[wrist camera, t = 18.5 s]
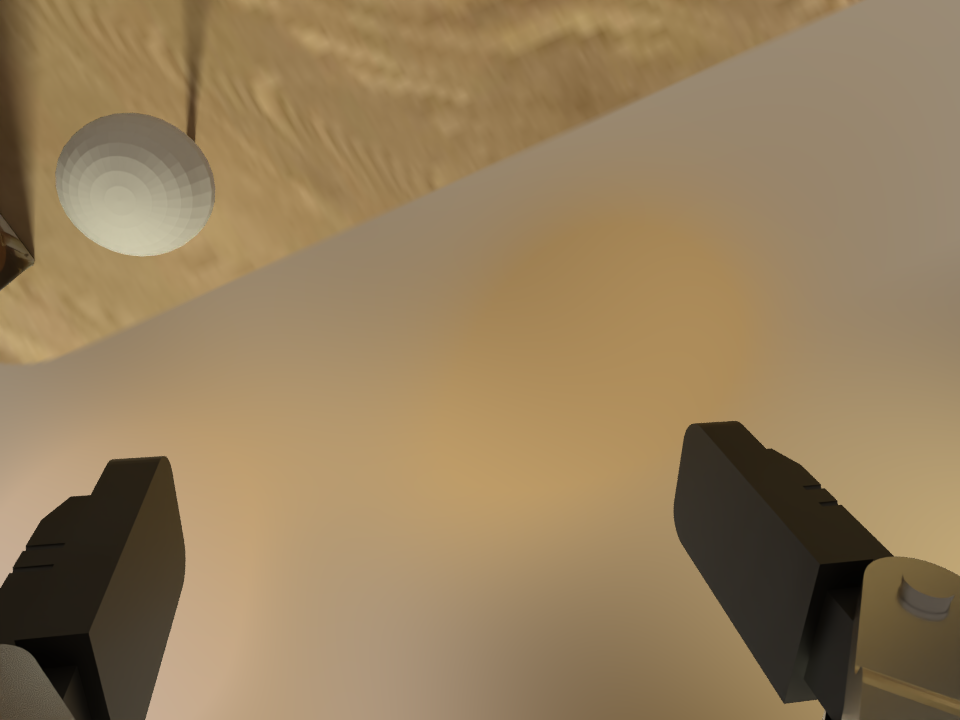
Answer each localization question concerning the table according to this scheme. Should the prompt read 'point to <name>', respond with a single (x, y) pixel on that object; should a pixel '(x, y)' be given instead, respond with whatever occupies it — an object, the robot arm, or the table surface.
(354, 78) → the table surface
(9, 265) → the coffee box
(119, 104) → the table surface
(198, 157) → the lollipop
